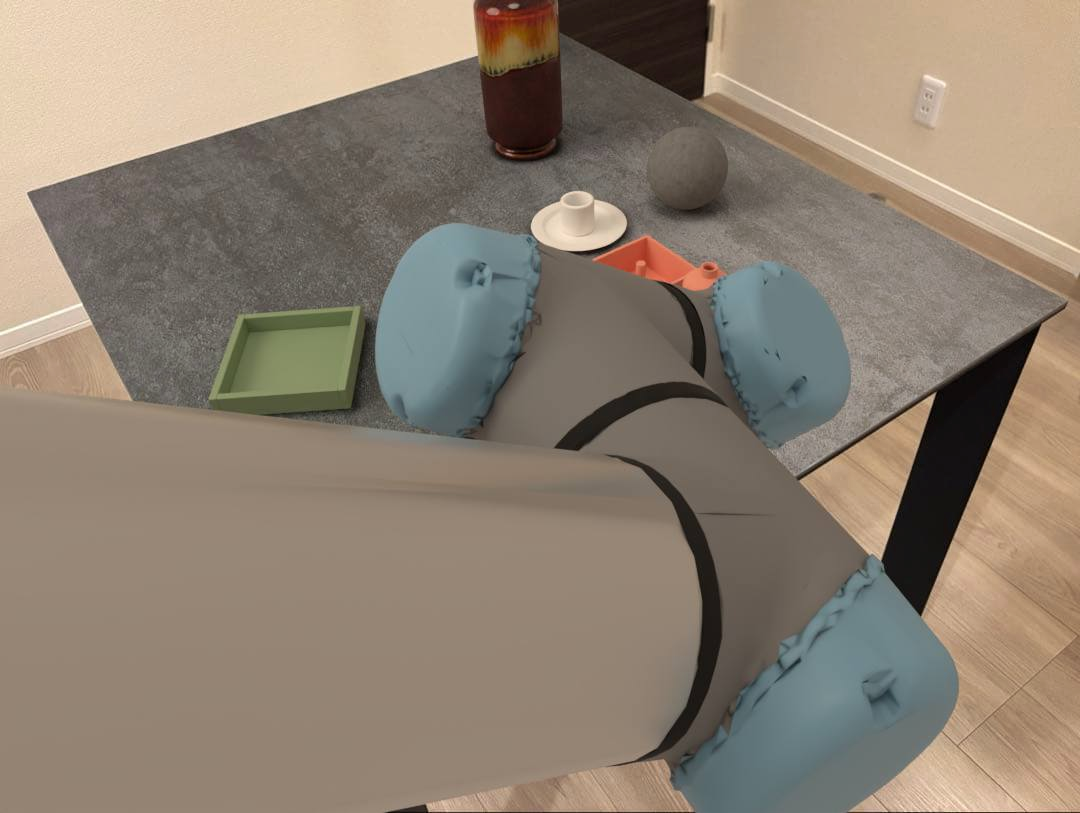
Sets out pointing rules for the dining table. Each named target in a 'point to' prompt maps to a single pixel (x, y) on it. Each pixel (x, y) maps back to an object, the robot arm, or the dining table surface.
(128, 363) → the dining table surface
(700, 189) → the decorative ball
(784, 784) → the robot arm
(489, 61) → the vase
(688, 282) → the pottery
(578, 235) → the candle holder
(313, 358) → the green shallow square tray
